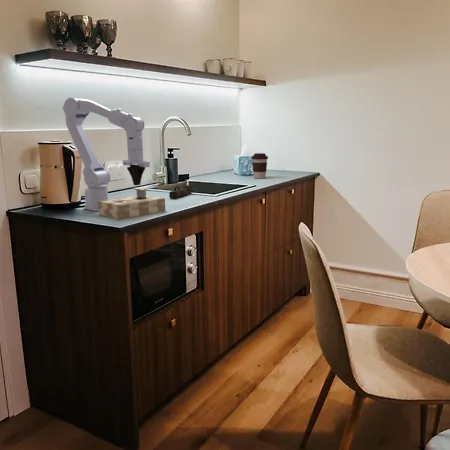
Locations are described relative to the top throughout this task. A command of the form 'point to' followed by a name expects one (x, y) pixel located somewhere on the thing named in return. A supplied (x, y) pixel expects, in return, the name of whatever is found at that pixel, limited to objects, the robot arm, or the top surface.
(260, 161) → the coffee cup
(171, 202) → the top surface
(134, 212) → the twin-bore block
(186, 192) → the hand tool
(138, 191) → the far peg
